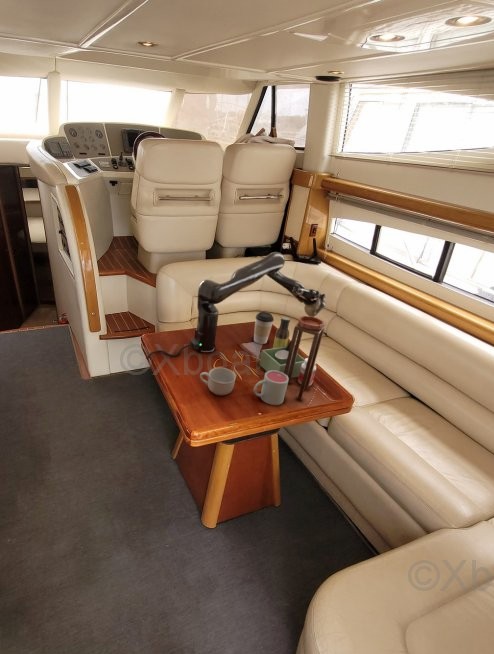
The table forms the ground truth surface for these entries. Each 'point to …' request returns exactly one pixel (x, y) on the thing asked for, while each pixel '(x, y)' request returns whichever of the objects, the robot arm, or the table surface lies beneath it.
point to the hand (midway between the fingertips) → (307, 290)
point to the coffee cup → (262, 327)
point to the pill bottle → (304, 371)
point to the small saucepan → (282, 355)
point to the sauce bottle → (282, 333)
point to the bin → (272, 365)
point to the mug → (273, 387)
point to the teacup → (219, 380)
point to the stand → (317, 329)
